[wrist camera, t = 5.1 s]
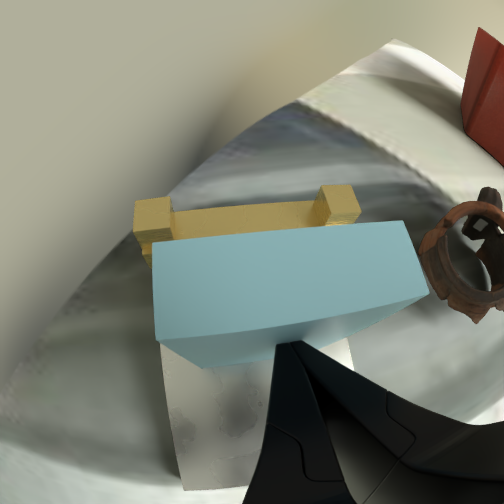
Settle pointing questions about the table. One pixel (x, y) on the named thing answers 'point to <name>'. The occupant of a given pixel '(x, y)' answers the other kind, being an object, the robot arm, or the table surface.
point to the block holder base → (238, 375)
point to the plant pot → (485, 95)
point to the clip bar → (279, 288)
